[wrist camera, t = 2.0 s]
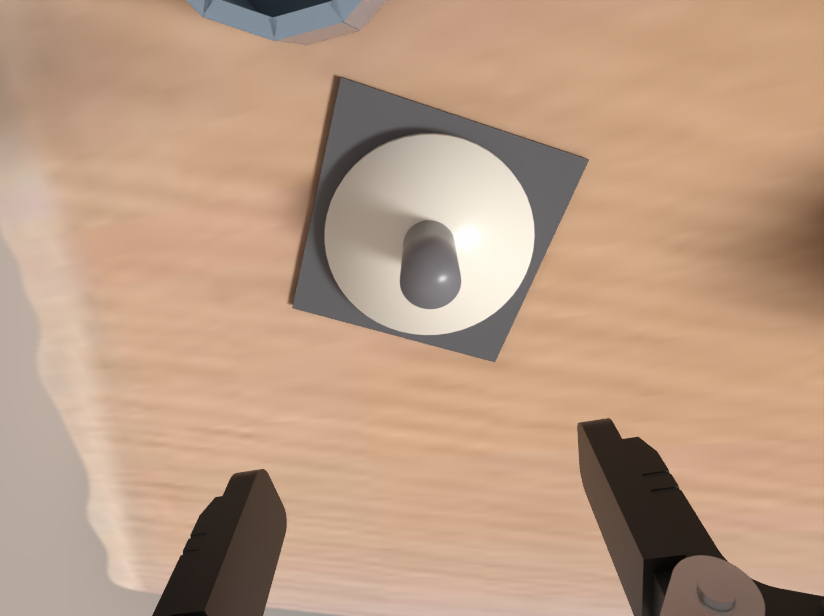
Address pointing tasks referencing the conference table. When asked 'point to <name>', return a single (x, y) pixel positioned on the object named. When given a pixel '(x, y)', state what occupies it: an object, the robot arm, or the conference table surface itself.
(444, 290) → the lid
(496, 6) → the conference table surface
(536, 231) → the mat
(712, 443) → the conference table surface
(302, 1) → the bowl
